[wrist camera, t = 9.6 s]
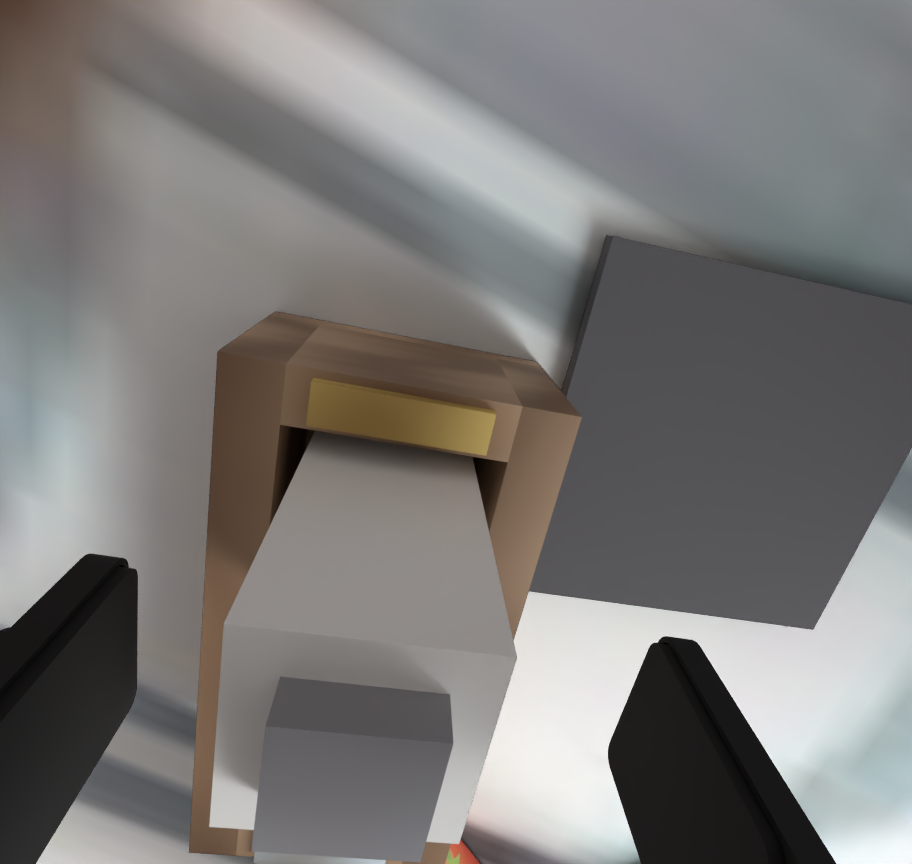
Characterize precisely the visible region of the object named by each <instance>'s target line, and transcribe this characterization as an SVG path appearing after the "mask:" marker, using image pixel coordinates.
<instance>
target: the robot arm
mask: <svg viewBox="0 0 912 864" xmlns="http://www.w3.org/2000/svg"><path fill="white" fill-rule="evenodd" d="M137 604H138V575H137V571H136V569H132V568H129V566H128V562H127V560H126V559H124V558H118V557H111V556H104V555H97V554H87V555H85V556H84V557H83V558H81V559H80V560H79V561H78V562H77V563H76V564H75V565H74V566H73V567H72V568H71V569H70V570H69V571H68V572H67V573H66V574H65V575H64V576H63V577H62V578H61V579H60V580H59V581H58V582H57V583H56V584H55V585H54V586H53V587H52V588H51V589H50V590H49V591H48V592H47V593H46V594H45V595H44V596H42V597H41V598H40V599H39V600H38V601H37V602H36V603H35V604H34V605H33V606H32V607H31V608H30V609H29V610H28V611H27V612H26V613H25V614H24V615H23V616H22V617H21V618H20V619H19V620H18V621H17V622H16V623H15V624H14V625H13V626H12V627H11V628H6V629H3V630H1V631H0V864H36V862H37V861H38V859H39V857H40V856H41V854H42V852H43V851H44V849H45V848H46V846H47V844H48V843H49V841H50V839H51V838H52V836H53V834H54V833H55V831H56V830H57V828H58V826H59V825H60V823H61V821H62V820H63V818H64V816H65V815H66V813H67V812H68V810H69V808H70V807H71V805H72V803H73V802H74V800H75V798H76V797H77V795H78V794H79V792H80V790H81V789H82V787H83V785H84V784H85V782H86V781H87V779H88V777H89V776H90V774H91V772H92V771H93V769H94V767H95V766H96V764H97V763H98V761H99V759H100V758H101V756H102V754H103V753H104V751H105V749H106V748H107V746H108V745H109V743H110V741H111V740H112V738H113V736H114V735H115V733H116V731H117V730H118V728H119V727H120V725H121V723H122V722H123V720H124V718H125V717H126V715H127V714H128V712H129V710H130V708H131V706H132V704H133V701H134V698H135V695H136V690H137ZM608 760H609V765H610V769H611V772H612V775H613V778H614V781H615V784H616V787H617V790H618V793H619V797H620V800H621V803H622V806H623V809H624V812H625V815H626V818H627V821H628V824H629V827H630V830H631V833H632V836H633V840H634V843H635V846H636V849H637V852H638V855H639V858H640V861H641V864H836V863H835V861H834V859H833V858H832V856H831V855H830V853H829V851H828V850H827V848H826V847H825V845H824V843H823V842H822V840H821V839H820V837H819V835H818V834H817V832H816V831H815V829H814V827H813V826H812V824H811V823H810V821H809V820H808V818H807V816H806V815H805V813H804V812H803V810H802V808H801V807H800V805H799V804H798V802H797V800H796V799H795V797H794V796H793V794H792V792H791V791H790V789H789V788H788V786H787V784H786V783H785V781H784V780H783V778H782V776H781V775H780V773H779V772H778V770H777V768H776V767H775V765H774V764H773V762H772V760H771V759H770V757H769V756H768V754H767V752H766V751H765V749H764V748H763V746H762V745H761V743H760V741H759V740H758V738H757V737H756V735H755V733H754V732H753V730H752V729H751V727H750V725H749V724H748V722H747V721H746V719H745V717H744V716H743V714H742V713H741V711H740V709H739V708H738V706H737V705H736V703H735V701H734V700H733V698H732V697H731V695H730V693H729V692H728V690H727V689H726V687H725V685H724V684H723V682H722V681H721V679H720V677H719V676H718V674H717V673H716V671H715V670H714V668H713V666H712V665H711V663H710V662H709V660H708V658H707V657H706V655H705V654H704V652H703V650H702V649H701V647H700V646H699V645H698V643H697V642H695V641H693V640H688V639H681V638H674V637H667V636H666V637H662V638H661V639H660V640H659V642H658V643H653V644H652V645H651V646H650V648H649V650H648V652H647V654H646V657H645V659H644V662H643V664H642V666H641V669H640V671H639V674H638V676H637V678H636V681H635V683H634V686H633V688H632V690H631V693H630V695H629V698H628V700H627V703H626V705H625V707H624V710H623V712H622V715H621V717H620V719H619V722H618V724H617V727H616V729H615V731H614V734H613V736H612V739H611V741H610V744H609V749H608Z"/></svg>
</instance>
